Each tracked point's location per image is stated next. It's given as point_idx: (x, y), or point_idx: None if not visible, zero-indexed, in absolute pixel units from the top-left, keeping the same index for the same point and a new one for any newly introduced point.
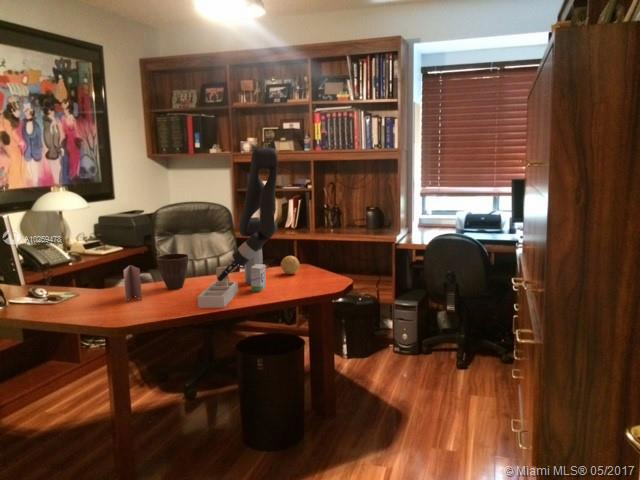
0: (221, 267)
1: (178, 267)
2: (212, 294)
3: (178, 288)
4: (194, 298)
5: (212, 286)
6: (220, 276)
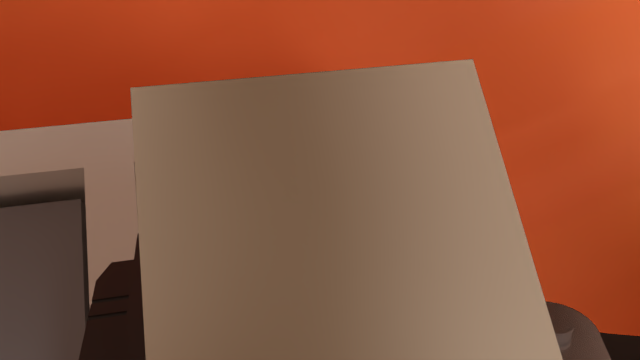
0: (375, 214)
1: None
2: None
3: None
4: (68, 21)
5: (113, 184)
6: (90, 326)
